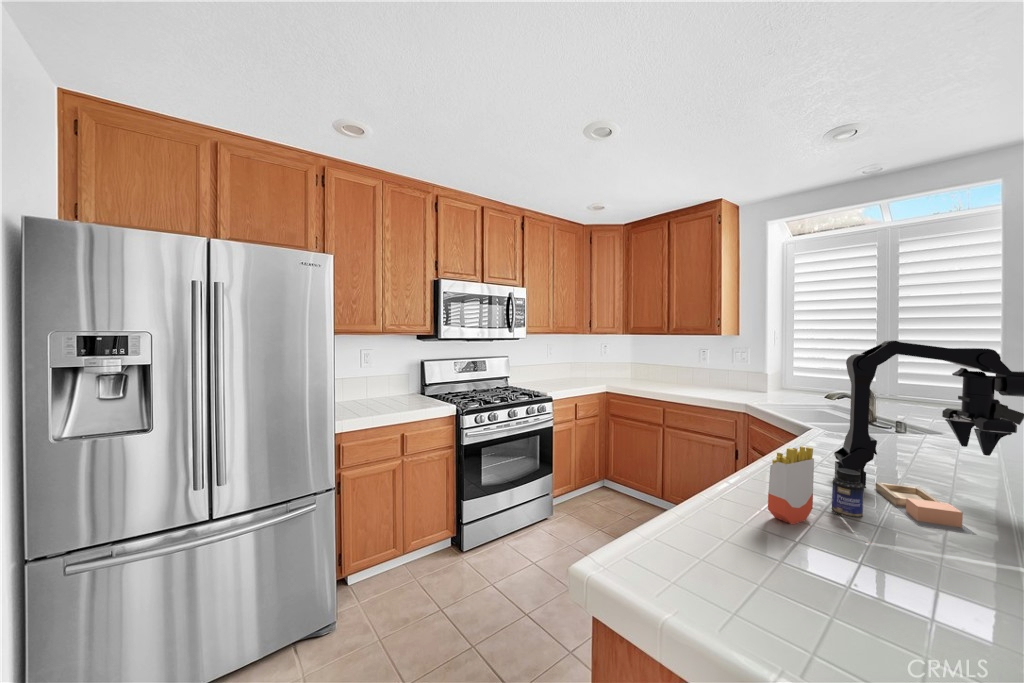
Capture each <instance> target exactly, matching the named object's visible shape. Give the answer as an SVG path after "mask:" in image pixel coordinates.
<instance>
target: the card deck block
mask: <svg viewBox="0 0 1024 683" xmlns="http://www.w3.org/2000/svg"><path fill="white" fill-rule="evenodd" d="M940 502H941V501H940ZM940 502H933V501H925V500H918V499H910V498H906V512H907V513H908V514H910V515H911V516H912V517H913V518H914V519H916V520H917V521H922V522H929V523H936V524H942V525H949V526H956V527H962V524H963V517H964V516H963V513H964V512H962V510H959V509H958V508H956V507H955V506H953V505H952V504H950V503H947V502H942V503H940Z"/></svg>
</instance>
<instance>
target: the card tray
mask: <svg viewBox="0 0 1024 683" xmlns="http://www.w3.org/2000/svg"><path fill="white" fill-rule="evenodd" d="M875 489H876V490H877V491H878V492H880V493H881V494H882V495H883V496H884V497H886V498H887V499H888V500H889V501H890V502H892V503H893V504H894V505H896V506H903V507H906V498H910V499H918V500H925V501H933V502H940V503H943V502H941V501H940V500H939V499H937V498H935V497H934V496H932V495H931V494H929V493H928V492H926V491H925V490H923V489H922V488H920V487H918V486H911V485H910V486H909V485H901V484H892V483H885V482H877V481H876V482H875ZM876 490H875V491H876ZM877 491H876V492H877ZM878 492H877V493H878ZM880 493H879V494H880ZM881 494H880V495H881ZM882 495H881V496H882ZM883 496H882V497H883ZM884 497H883V498H884ZM886 498H885V499H886ZM887 499H886V500H887ZM888 500H887V501H888ZM889 501H888V502H889ZM890 502H889V503H890ZM892 503H891V504H892ZM893 504H892V505H893ZM894 505H893V506H894Z"/></svg>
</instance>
